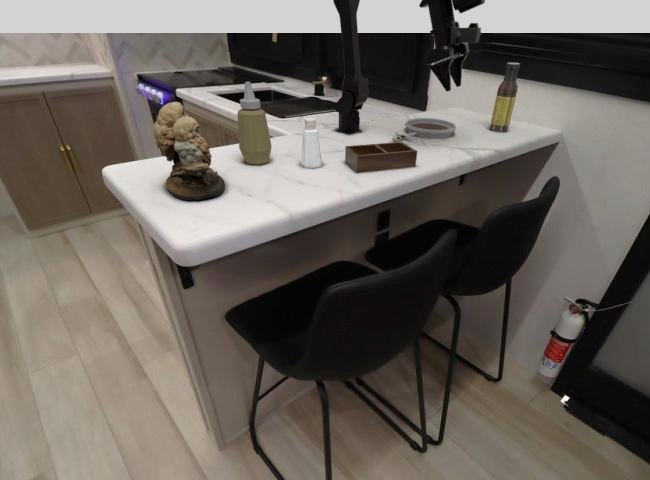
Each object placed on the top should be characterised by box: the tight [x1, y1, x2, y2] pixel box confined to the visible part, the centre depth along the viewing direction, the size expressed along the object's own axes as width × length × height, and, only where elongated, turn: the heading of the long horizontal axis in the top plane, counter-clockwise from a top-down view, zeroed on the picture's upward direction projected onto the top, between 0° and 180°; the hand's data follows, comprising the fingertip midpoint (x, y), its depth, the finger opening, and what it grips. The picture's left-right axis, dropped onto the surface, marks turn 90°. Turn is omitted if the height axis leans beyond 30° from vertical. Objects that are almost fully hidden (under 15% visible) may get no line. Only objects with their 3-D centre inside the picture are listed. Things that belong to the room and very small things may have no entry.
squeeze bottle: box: [237, 81, 272, 165], centre depth 92 cm, size 8×8×18 cm
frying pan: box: [391, 117, 457, 142], centre depth 122 cm, size 17×3×28 cm
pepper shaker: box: [300, 117, 323, 169], centre depth 94 cm, size 5×5×11 cm
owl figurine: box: [152, 101, 226, 201], centre depth 78 cm, size 18×12×17 cm, turn 34°
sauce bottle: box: [489, 62, 521, 133], centre depth 125 cm, size 6×6×20 cm
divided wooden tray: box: [344, 141, 418, 174], centre depth 98 cm, size 9×16×4 cm, turn 111°
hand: (453, 88), depth 102 cm, fingers open, 9 cm apart
